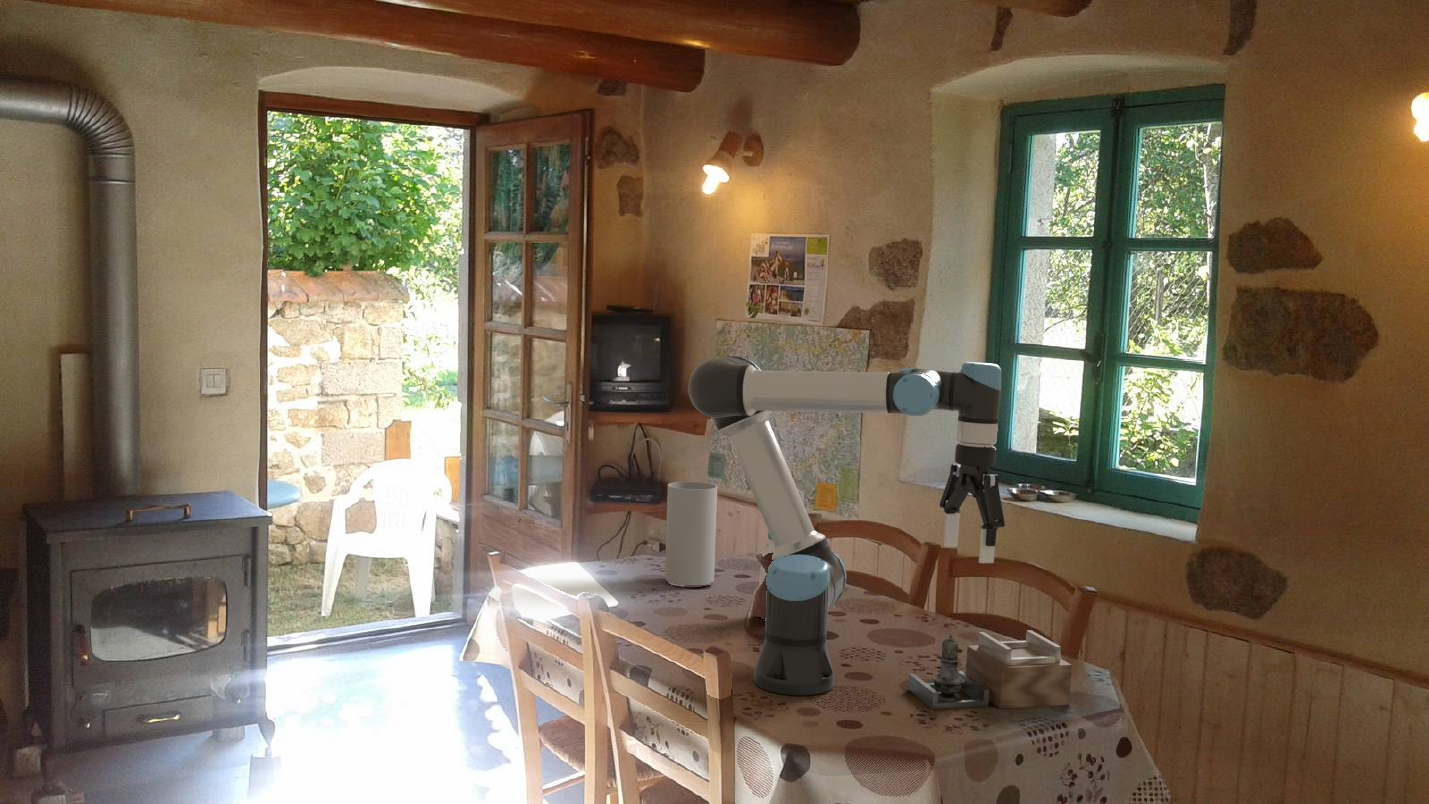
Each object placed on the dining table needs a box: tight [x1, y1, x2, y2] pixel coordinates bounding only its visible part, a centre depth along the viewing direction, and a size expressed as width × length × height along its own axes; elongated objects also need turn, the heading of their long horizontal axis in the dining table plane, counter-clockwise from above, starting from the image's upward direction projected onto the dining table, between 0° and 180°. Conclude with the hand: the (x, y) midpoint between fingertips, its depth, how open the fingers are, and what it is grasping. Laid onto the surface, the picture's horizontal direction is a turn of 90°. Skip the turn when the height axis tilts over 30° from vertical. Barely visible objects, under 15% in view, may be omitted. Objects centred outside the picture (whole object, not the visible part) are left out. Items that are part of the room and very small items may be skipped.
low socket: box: [907, 670, 990, 710], centre depth 221 cm, size 11×11×3 cm
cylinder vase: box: [664, 481, 718, 585], centre depth 302 cm, size 12×12×25 cm
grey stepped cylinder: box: [932, 634, 965, 701], centre depth 220 cm, size 6×6×12 cm
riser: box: [965, 629, 1073, 709], centre depth 224 cm, size 14×14×10 cm
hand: (967, 554), depth 228 cm, fingers open, 13 cm apart
